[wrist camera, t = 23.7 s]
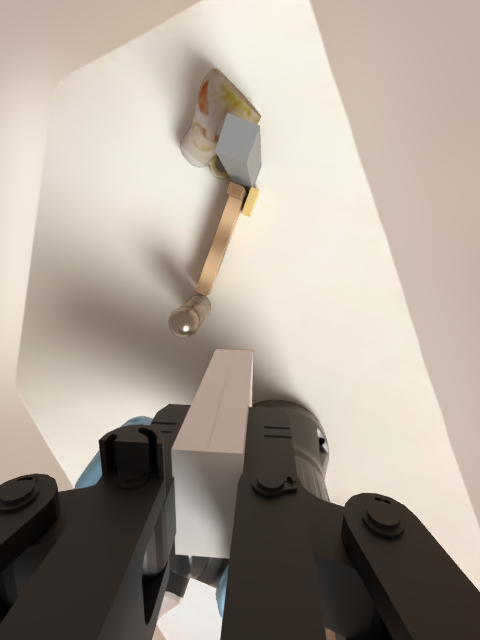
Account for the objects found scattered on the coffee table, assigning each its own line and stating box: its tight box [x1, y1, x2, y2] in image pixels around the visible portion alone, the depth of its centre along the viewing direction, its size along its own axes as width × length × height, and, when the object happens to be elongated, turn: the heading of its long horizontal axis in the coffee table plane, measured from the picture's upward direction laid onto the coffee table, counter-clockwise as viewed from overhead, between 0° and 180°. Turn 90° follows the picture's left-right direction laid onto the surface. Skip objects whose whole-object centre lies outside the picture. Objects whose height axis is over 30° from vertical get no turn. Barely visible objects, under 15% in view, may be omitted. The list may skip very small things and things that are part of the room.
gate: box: [195, 182, 247, 296], centre depth 41 cm, size 14×2×6 cm, turn 159°
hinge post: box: [169, 295, 211, 338], centre depth 41 cm, size 3×3×11 cm
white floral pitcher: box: [180, 69, 261, 178], centre depth 38 cm, size 8×10×10 cm
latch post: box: [215, 113, 261, 217], centre depth 35 cm, size 6×4×15 cm, turn 159°
